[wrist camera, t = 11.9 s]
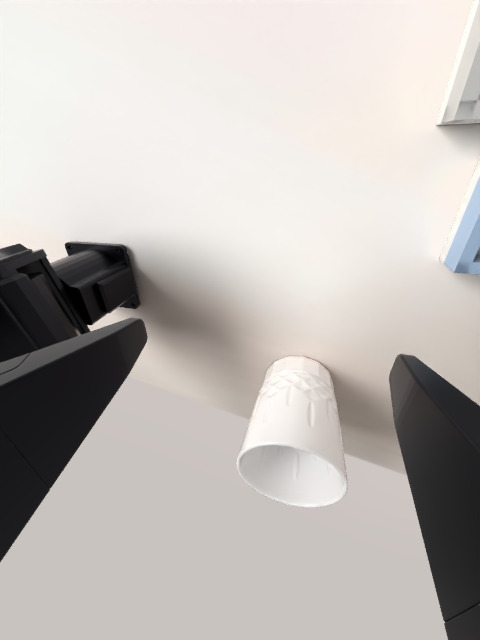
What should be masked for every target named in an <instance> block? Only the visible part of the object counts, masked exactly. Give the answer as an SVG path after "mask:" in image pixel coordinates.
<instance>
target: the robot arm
mask: <svg viewBox="0 0 480 640" xmlns="http://www.w3.org/2000/svg"><path fill="white" fill-rule="evenodd" d="M71 247H72V248H71ZM65 248H66V251H67V253H68V257H65V258H63V259H60V260H58V261H55V262H52V263H49V261H48V259H47V258H46V256H47V255H46V253H45V252H44V250H43V249H41V250H36V251H32V249H27V248H26V247H24V246H23V245H21V244H16V245H12V246H9V247H5V248H2V249H0V562H1V560H2V559H3V557H4V556H5V555H6V553H7V552H8V550H9V549H10V547H11V546H12V544H13V543H14V541H15V540H16V539H17V537H18V536H19V534H20V533H21V531H22V530H23V528H24V527H25V525H26V524H27V522H28V521H29V520H30V518H31V517H32V515H33V514H34V512H35V511H36V509H37V508H38V506H39V505H40V503H41V502H42V501H43V499H44V498H45V496H46V495H47V493H48V492H49V490H50V489H49V488H51V487H52V485H53V484H54V483H55V481H56V480H57V478H58V477H59V475H60V474H61V472H62V471H63V470H64V468H65V466H66V465H67V464H68V462H69V461H70V459H71V458H72V456H73V455H74V454H75V452H76V451H77V449H78V448H79V446H80V445H81V443H82V442H83V440H84V439H85V438H86V436H87V435H88V433H89V432H90V430H91V429H92V427H93V426H94V424H95V423H96V421H97V420H98V419H99V417H100V416H101V414H102V413H103V411H104V410H105V408H106V407H107V405H108V404H109V403H110V401H111V399H112V398H113V397H114V395H115V394H116V392H117V391H118V389H119V388H120V386H121V385H122V384H123V382H124V380H125V379H126V378H127V376H128V375H129V373H130V371H131V370H132V368H133V366H134V364H135V362H136V360H137V359H138V357H139V355H140V353H141V351H142V349H143V348H144V346H145V344H146V342H147V333H146V329H145V325H144V321H143V320H142V319H140V318H129V319H126V320H123V321H120V322H117V323H114V324H112V325H109V326H106V327H103V328H100V329H97V330H94V331H90V329H89V328H88V326H87V325H93V324H94V323H95V322H97V321H98V320H99V319H101V318H102V317H103V316H105V315H106V314H108V313H111V312H112V311H114V310H115V309H116V308H118V307H124V308H132V309H136V308H138V307H139V306H140V301H139V298H138V294H137V290H136V286H135V282H134V278H133V274H132V270H131V266H130V262H129V258H128V254H127V250H126V248H125V247H124V246H123V245H120V244H103V243H87V242H68V243H66V244H65ZM119 249H120V250H121V252H120V250H119ZM134 303H135V304H134ZM389 382H390V391H391V399H392V407H393V416H394V423H395V428H396V433H397V436H398V440H399V444H400V448H401V452H402V456H403V460H404V464H405V468H406V472H407V476H408V480H409V484H410V488H411V492H412V496H413V500H414V504H415V508H416V512H417V516H418V520H419V524H420V528H421V532H422V536H423V540H424V544H425V548H426V552H427V556H428V560H429V564H430V568H431V572H432V576H433V580H434V584H435V588H436V592H437V596H438V600H439V604H440V608H441V612H442V616H443V620H444V621H445V623H444V625H445V629H446V632H447V637H448V640H480V406H479V405H478V404H476V403H475V402H474V401H472V400H471V399H470V398H468V397H467V396H466V395H465V394H463V393H462V392H461V391H459V390H458V389H457V388H455V387H454V386H453V385H451V384H450V383H449V382H448V381H446V380H445V379H444V378H442V377H441V376H440V375H438V374H437V373H436V372H435V371H433V370H432V369H431V368H429V367H428V366H427V365H425V364H424V363H423V362H421V361H420V360H419V359H418V358H416V357H415V356H412V355H405V354H399V355H398V356H397V357H396V359H395V362H394V365H393V367H392V370H391V372H390V376H389Z"/></svg>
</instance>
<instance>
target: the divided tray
mask: <svg viewBox="0 0 480 640" xmlns="http://www.w3.org/2000/svg"><path fill="white" fill-rule="evenodd" d="M472 123H480V0H474V1H473V4H472V7H471V10H470V14H469V17H468V20H467V23H466V27H465V30H464V33H463V37H462V40H461V43H460V46H459V50H458V53H457V56H456V59H455V63H454V66H453V69H452V73H451V76H450V79H449V82H448V86H447V89H446V92H445V95H444V99H443V102H442V105H441V109H440V112H439V115H438V118H437V122H436V125H450V124H472ZM439 260H440V261H441V262H442V263H443V264H444V265H446V266H447V267H448V268H449V269H450V270H451V271H453V272H455V273H470V274H480V158H479V161H478V163H477V166H476V168H475V171H474V173H473V176H472V178H471V181H470V183H469V186H468V188H467V191H466V193H465V196H464V198H463V201H462V203H461V206H460V208H459V211H458V213H457V216H456V218H455V221H454V223H453V226H452V228H451V231H450V233H449V236H448V238H447V241H446V243H445V246H444V248H443V251H442V253H441V256H440V258H439Z"/></svg>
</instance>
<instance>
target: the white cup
mask: <svg viewBox="0 0 480 640" xmlns="http://www.w3.org/2000/svg"><path fill="white" fill-rule="evenodd" d="M237 469H238V472H239V474H240V475H241V477H242V478H243V479H244V481H245V482H246V483H247V484H248V485H249V486H251V487H252V488H253V489H255V490H256V491H258V492H259V493H261V494H263V495H265V496H267V497H269V498H271V499H273V500H276V501H278V502H282V503H285V504H289V505H293V506H300V507H324V506H328V505H332V504H334V503H336V502H338V501H340V500H341V499H342V498H343V497H344V496H345V494H346V493H347V489H348V483H347V475H346V467H345V460H344V452H343V444H342V436H341V428H340V422H339V416H338V409H337V402H336V398H335V394H334V385H333V381H332V378H331V376H330V373H329V371H328V370H327V369H326V368H325V367H323V366H322V365H321V364H320V363H319V362H317V361H315V360H312V359H309V358H307V357H304V356H287V357H285V358H282V359H280V360H277V361H275V362H274V363H273V364H272V365H271V367H270V368H269V369H268V370H267V373H266V376H265V379H264V383H263V386H262V388H261V390H260V392H259V394H258V397H257V401H256V404H255V406H254V409H253V412H252V415H251V418H250V421H249V424H248V427H247V430H246V434H245V437H244V440H243V443H242V446H241V449H240V452H239V455H238V458H237Z"/></svg>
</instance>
